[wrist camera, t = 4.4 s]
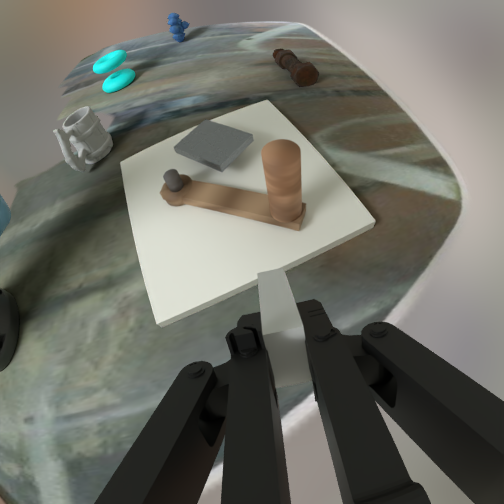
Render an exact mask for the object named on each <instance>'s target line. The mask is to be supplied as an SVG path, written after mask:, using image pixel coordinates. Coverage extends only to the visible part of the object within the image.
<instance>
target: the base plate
mask: <svg viewBox="0 0 504 504" xmlns="http://www.w3.org/2000/svg"><path fill="white" fill-rule="evenodd" d="M210 121H213V122H216V123H219V124H223V125H226V126H229V127H232V128H235V129H238V130H241V131H244V132H247V133H250V134H253V139H254V141H253V142H252V143H251V144H250V145H249V146H248V147H247V148H246V149H245V150H244V151H243V152H242V153H241V154H240V155H239V156H238V157H237V158H236V159H235V160H234V161H233V162H232V163H231V164H230V165H229V166H228V167H227V168H226V169H225V170H224V171H223V172H220V171H218V170H215V169H213V168H211V167H208V166H206V165H204V164H201V163H199V162H197V161H194V160H192V159H189V158H187V157H185V156H182V155H180V154H177V153H176V152H175V150H174V146H175V145H176V144H178V143H179V142H180V141H181V140H182V139H183V138H184V137H185V136H186V135H188V134H189V133H190V132H191V131H192V130H193V129H194V128H196V127H197V126H198V125H197V126H195V127H193V128H190V129H188V130H186V131H183V132H181V133H179V134H177V135H174V136H172V137H170V138H168V139H166V140H164V141H161V142H159V143H157V144H155V145H153V146H151V147H149V148H147V149H145V150H143V151H141V152H139V153H137V154H135V155H133V156H131V157H129V158H127V159H125V160H124V161H122V162H120V164H121V171H122V177H123V183H124V189H125V195H126V200H127V206H128V211H129V216H130V221H131V226H132V231H133V235H134V240H135V244H136V249H137V253H138V257H139V261H140V265H141V269H142V273H143V277H144V281H145V285H146V289H147V292H148V296H149V299H150V303H151V306H152V310H153V313H154V317H155V320H156V323H157V325H159V326H161V327H164V326H167V325H169V324H171V323H174V322H176V321H178V320H180V319H183V318H185V317H187V316H189V315H192V314H194V313H196V312H198V311H201V310H203V309H205V308H207V307H209V306H212V305H214V304H216V303H218V302H220V301H223V300H225V299H227V298H229V297H231V296H234V295H236V294H238V293H240V292H242V291H244V290H247V289H249V288H251V287H253V286H255V285H257V284H258V276H257V273H260V272H265V271H269V270H274V269H278V268H284V271H287V270H289V269H291V268H293V267H295V266H297V265H299V264H301V263H303V262H305V261H307V260H309V259H311V258H314V257H316V256H318V255H320V254H322V253H324V252H326V251H328V250H330V249H332V248H334V247H336V246H338V245H340V244H342V243H344V242H346V241H348V240H350V239H352V238H354V237H356V236H358V235H360V234H362V233H364V232H366V231H367V230H369V229H371V228H373V227H374V224H375V219H374V218H373V217H372V216H371V214H370V213H369V212H368V210H367V209H366V208H365V207H364V205H363V204H362V203H361V202H360V200H359V199H358V198H357V197H356V195H355V194H354V193H353V192H352V190H351V189H350V188H349V187H348V186H347V184H346V183H345V182H344V181H343V180H342V178H341V177H340V176H339V175H338V174H337V173H336V171H335V170H334V169H333V168H332V167H331V166H330V164H329V163H328V162H327V161H326V160H325V159H324V158H323V157H322V155H321V154H320V153H319V152H318V151H317V150H316V149H315V148H314V147H313V146H312V144H311V143H310V142H309V141H308V140H307V139H306V138H305V137H304V136H303V135H302V134H301V133H300V132H299V131H298V130H297V129H296V128H295V127H294V125H293V124H292V123H291V122H290V121H289V120H288V119H287V118H286V117H285V116H284V115H283V114H282V113H281V112H280V111H279V110H278V109H277V108H276V107H275V106H274V105H273V104H271V103H270V102H269V101H268V100H265V101H262V102H259V103H256V104H253V105H250V106H247V107H244V108H241V109H239V110H236V111H233V112H230V113H228V114H225V115H222V116H220V117H217V118H215V119H212V120H210ZM278 139H286V140H290V141H293V142H295V143H296V144H297V145H298V146H299V147H300V150H301V183H302V202H303V203H306V213H305V216H304V219H303V222H302V225H301V228H300V231H296V230H292V229H288V228H284V227H280V226H276V225H272V224H268V223H264V222H260V221H255V220H251V219H247V218H243V217H239V216H235V215H230V214H226V213H222V212H217V211H213V210H209V209H204V208H200V207H195V206H191V205H186V204H184V205H181V206H171V205H169V204H168V203H167V202H166V200H163V198H162V196H161V195H160V191H161V189H162V186H163V184H164V183H165V180H164V178H163V175H164V173H165V172H166V171H168V170H170V169H176V170H177V171H178V173H179V174H184V175H188V176H189V177H190V178H191V179H192V180H195V181H201V182H206V183H212V184H217V185H222V186H228V187H233V188H238V189H243V190H248V191H253V192H258V193H262V194H267V195H268V193H267V187H266V181H265V175H264V168H263V162H262V156H261V150H262V148H263V147H264V146H265V145H266V144H267V143H269V142H271V141H273V140H278Z"/></svg>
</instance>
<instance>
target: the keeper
mask: <svg viewBox="0 0 504 504" xmlns="http://www.w3.org/2000/svg"><path fill="white" fill-rule="evenodd" d="M253 141H254V139H253V134H250V133H247V132H244V131H241V130H238V129H235V128H232V127H229V126H226V125H223V124H219V123H216V122H213V121H209V120H206V119H205V120H204V121H203V122H202V123H200V124H199V125H198V126H197V127H196V128H194V129H193V130H192V131H191V132H190V133H189V134H188V135H186V136H185V137H184V138H183V139H182V140H181V141H180V142H179V143H178V144H176V145H175V146H174V150H175V152H176V153H177V154H180V155H182V156H185V157H187V158H189V159H192V160H194V161H197V162H199V163H201V164H204V165H206V166H208V167H211V168H213V169H215V170H218V171H220V172H223V171H224V170H225V169H226V168H227V167H228V166H229V165H230V164H231V163H232V162H233V161H234V160H235V159H236V158H237V157H238V156H239V155H240V154H241V153H242V152H243V151H244V150H245V149H246V148H247V147H248V146H249V145H250V144H251V143H252V142H253Z"/></svg>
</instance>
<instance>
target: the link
mask: <svg viewBox="0 0 504 504" xmlns="http://www.w3.org/2000/svg"><path fill="white" fill-rule="evenodd" d="M261 156H262V162H263V168H264V175H265V181H266V187H267V193H268V195H267V194H262V193H258V192H253V191H248V190H243V189H238V188H233V187H228V186H222V185H217V184H212V183H206V182H201V181H195V180H192V179H191V178H190V177H189V176H188V175H184V174H179V173H178V171H177V170H176V169H170V170H168V171H166V172H165V173H164V175H163V178H164V180H165V183H164V184H163V186H162V189H161V191H160V195H161V196H162V198H163V200H166V202H167V203H168V204H169V205H171V206H181V205H184V204H186V205H191V206H195V207H200V208H204V209H209V210H213V211H217V212H222V213H226V214H230V215H235V216H239V217H243V218H247V219H251V220H255V221H260V222H264V223H268V224H272V225H276V226H280V227H284V228H288V229H292V230H296V231H300V228H301V225H302V222H303V219H304V216H305V213H306V203H303V202H302V183H301V150H300V147H299V146H298V145H297V144H296V143H295V142H293V141H290V140H286V139H278V140H273V141H271V142H269V143H267V144H266V145H265V146H264V147H263V148H262V150H261Z"/></svg>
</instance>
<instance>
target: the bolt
mask: <svg viewBox="0 0 504 504" xmlns="http://www.w3.org/2000/svg"><path fill="white" fill-rule="evenodd" d="M273 57H274V58H275V61H276V63H277V64H278V65H279V66H280V67H281V68H282V69H286V68H287V69H288V70H289V71H290V72H291V73H292V74H291V76H290V77H291V78H292V79H293V80H294V81H295V82H296V84H297V85H298V86H299V87H304V86H310V85H313V84H314V83H315V82H316V80H317V79H318V76H319V72H318V71H317V69H316V68H315V67H314V66H313V64H312V63H310V62H306V63H301V62H300V61H299V60H297V57H296V56H295V54H294V53H293V52H292V51H291V50H284V49H276V50H274V53H273Z"/></svg>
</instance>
